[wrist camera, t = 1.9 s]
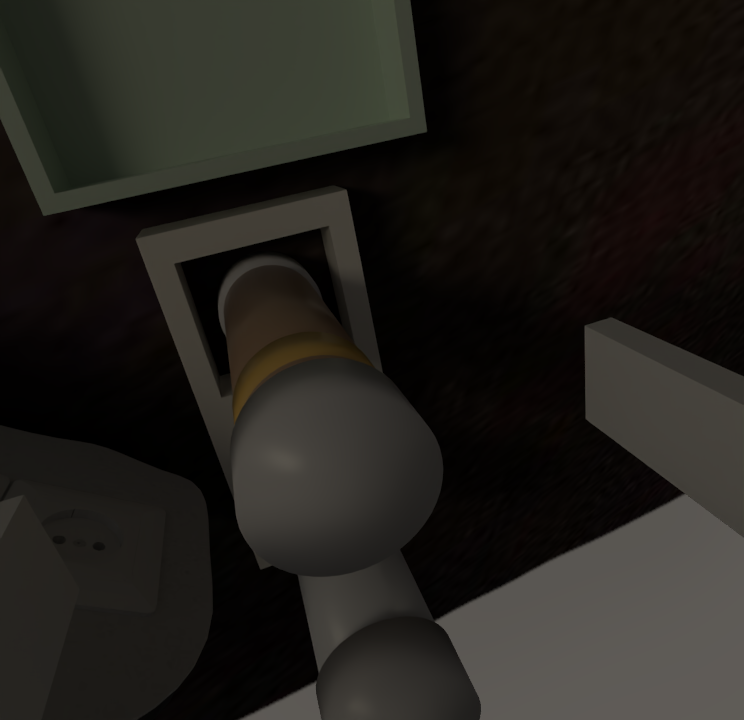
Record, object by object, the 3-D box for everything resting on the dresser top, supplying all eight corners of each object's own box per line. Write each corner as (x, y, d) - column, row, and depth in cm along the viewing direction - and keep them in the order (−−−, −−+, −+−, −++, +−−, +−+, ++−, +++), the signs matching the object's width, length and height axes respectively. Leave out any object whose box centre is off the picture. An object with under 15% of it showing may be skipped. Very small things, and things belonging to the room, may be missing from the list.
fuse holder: (256, 537, 29) (260, 569, 27) (142, 229, 22) (135, 239, 20) (396, 489, 30) (411, 515, 28) (333, 185, 23) (346, 189, 21)
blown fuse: (233, 355, 25) (269, 604, 11) (203, 264, 23) (204, 437, 10) (324, 329, 26) (454, 535, 12) (302, 240, 24) (428, 368, 10)
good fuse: (280, 497, 28) (348, 812, 15) (258, 430, 27) (313, 720, 13) (358, 471, 29) (487, 748, 16) (341, 404, 27) (472, 654, 14)
